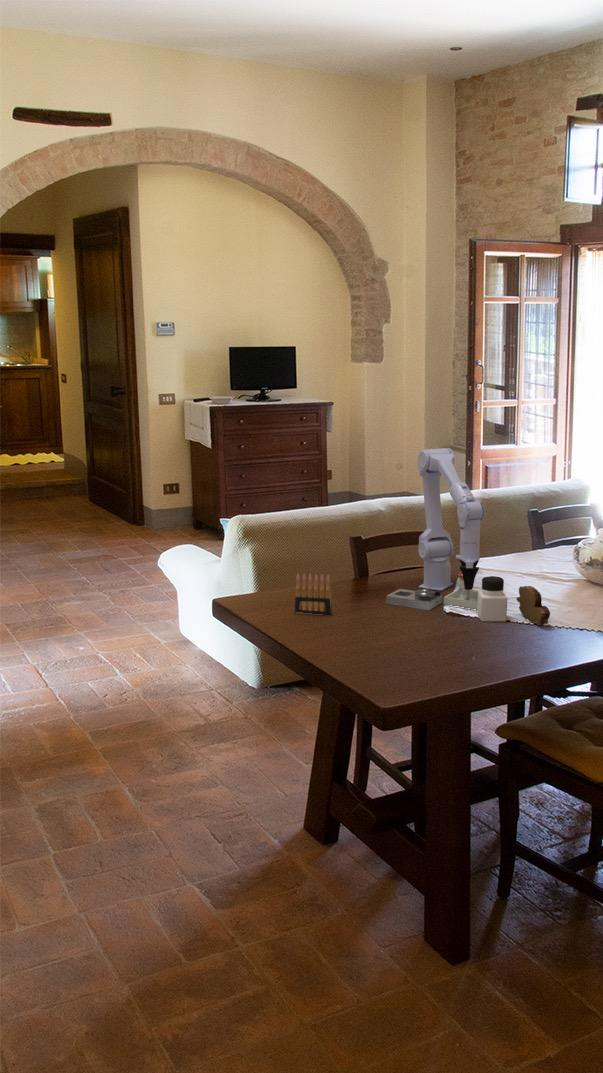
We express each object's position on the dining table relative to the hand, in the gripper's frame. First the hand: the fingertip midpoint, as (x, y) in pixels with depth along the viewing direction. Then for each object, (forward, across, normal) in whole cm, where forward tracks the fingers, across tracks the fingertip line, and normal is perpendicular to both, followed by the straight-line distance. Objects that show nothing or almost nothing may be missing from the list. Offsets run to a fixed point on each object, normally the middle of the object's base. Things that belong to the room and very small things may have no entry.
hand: (468, 586), depth 294 cm
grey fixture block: (+5, +2, -16) cm, 17 cm away
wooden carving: (+6, +16, +18) cm, 24 cm away
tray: (+5, 0, 0) cm, 5 cm away
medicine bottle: (+6, +14, +6) cm, 17 cm away
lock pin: (+5, 0, -1) cm, 5 cm away
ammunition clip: (+6, +16, -44) cm, 48 cm away
